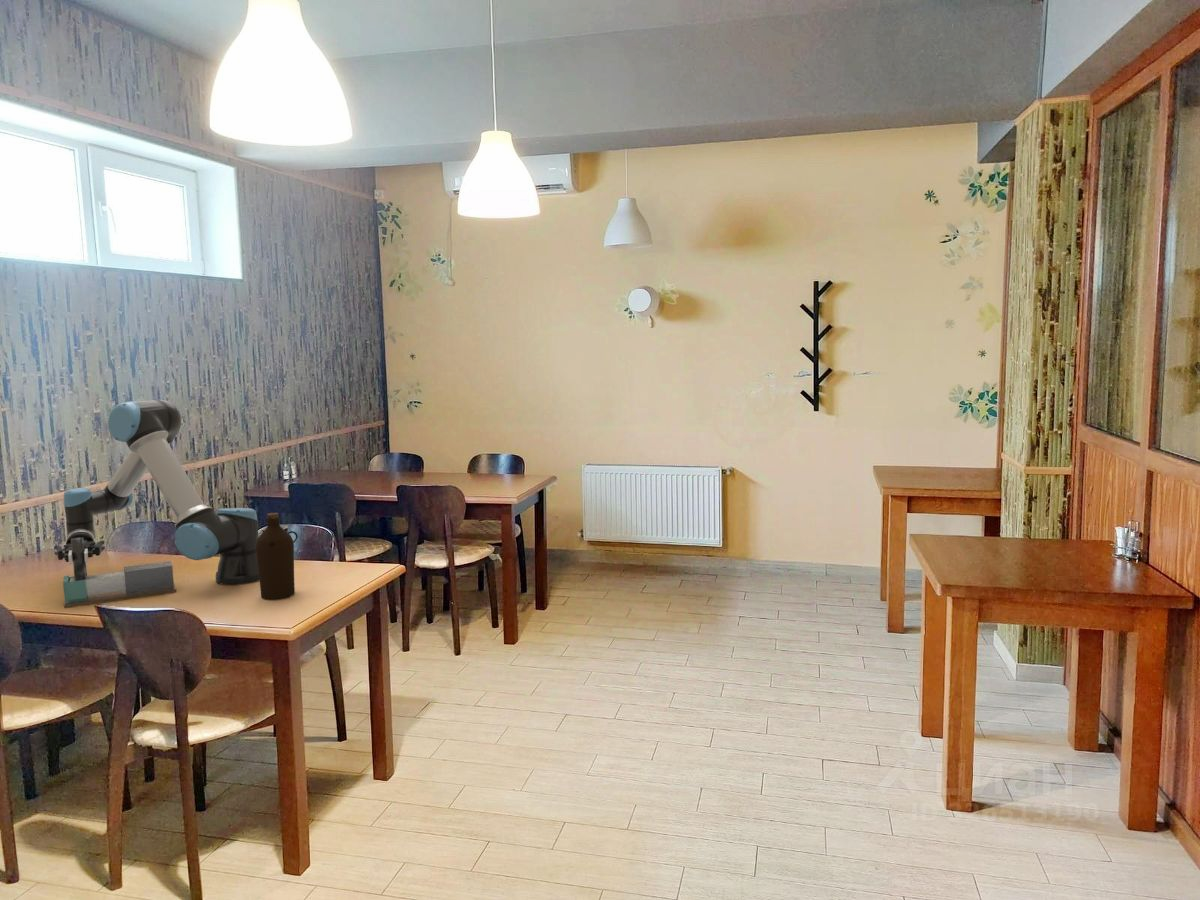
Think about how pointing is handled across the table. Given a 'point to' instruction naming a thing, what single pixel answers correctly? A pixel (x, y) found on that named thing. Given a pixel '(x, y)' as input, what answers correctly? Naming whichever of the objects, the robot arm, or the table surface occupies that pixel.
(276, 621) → the table surface
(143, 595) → the base plate with blocks
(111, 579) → the metal plate with post
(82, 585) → the teal bracket
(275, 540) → the olive oil
